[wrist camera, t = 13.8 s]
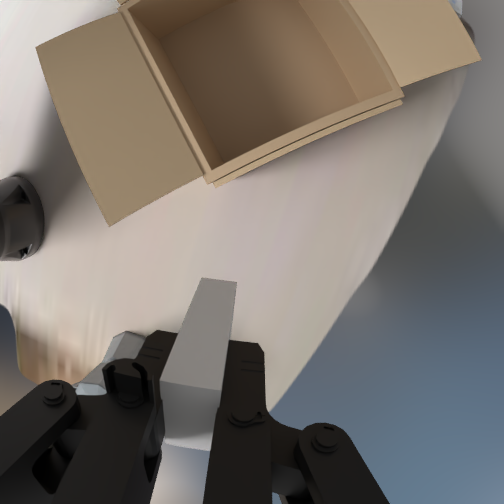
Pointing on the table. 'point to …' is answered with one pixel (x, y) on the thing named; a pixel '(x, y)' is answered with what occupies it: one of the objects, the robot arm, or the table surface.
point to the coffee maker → (118, 349)
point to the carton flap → (122, 1)
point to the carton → (232, 83)
